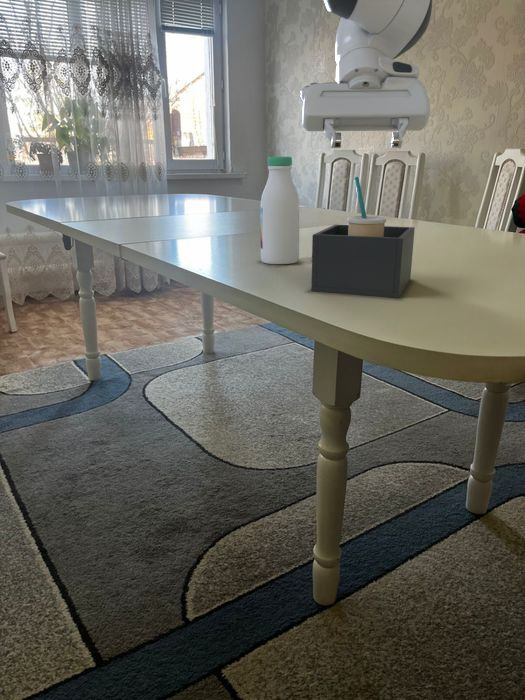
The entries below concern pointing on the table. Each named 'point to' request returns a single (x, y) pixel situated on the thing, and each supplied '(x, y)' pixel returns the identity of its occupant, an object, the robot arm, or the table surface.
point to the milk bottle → (279, 214)
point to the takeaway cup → (365, 220)
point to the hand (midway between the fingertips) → (366, 145)
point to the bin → (362, 261)
